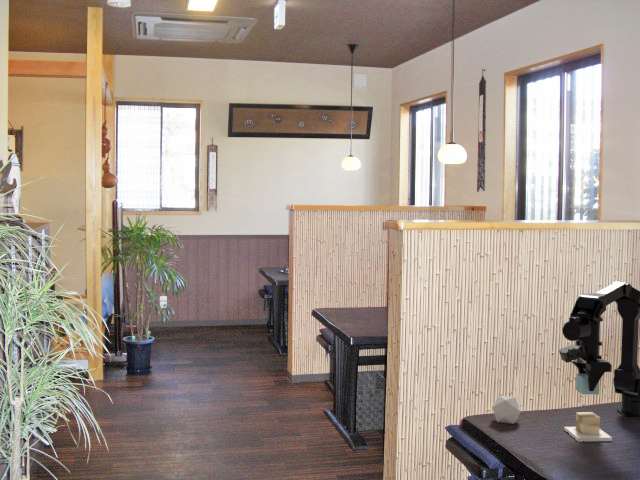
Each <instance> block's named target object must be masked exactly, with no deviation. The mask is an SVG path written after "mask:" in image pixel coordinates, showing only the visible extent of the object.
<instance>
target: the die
mask: <svg viewBox="0 0 640 480" xmlns="http://www.w3.org/2000/svg"><path fill="white" fill-rule="evenodd" d="M491 408H492V411H493V414H494V417H495V419H496V422H497V423H502V424H503V423H505V424H515V423H516V421H517V419H518V417H519V416H520V414H521V412H522V411H521V408H520V406H519V403H518V400H517V397H514V396H506V395H498V397H497V398H496V400H495V401H494V403H493V404H492V406H491Z"/></svg>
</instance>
